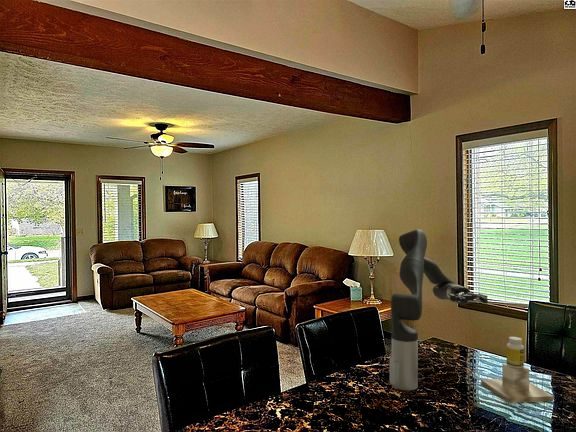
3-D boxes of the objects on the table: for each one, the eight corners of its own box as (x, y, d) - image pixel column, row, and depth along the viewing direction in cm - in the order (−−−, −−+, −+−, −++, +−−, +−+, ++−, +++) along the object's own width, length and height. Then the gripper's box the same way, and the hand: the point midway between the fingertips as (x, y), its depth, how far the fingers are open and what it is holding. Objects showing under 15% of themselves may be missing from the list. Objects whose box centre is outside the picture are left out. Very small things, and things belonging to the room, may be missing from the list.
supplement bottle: (522, 369, 143) (522, 341, 143) (505, 366, 146) (505, 338, 147) (525, 365, 148) (525, 337, 148) (508, 362, 151) (508, 335, 151)
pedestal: (508, 402, 138) (508, 375, 138) (481, 383, 154) (481, 359, 154) (553, 400, 140) (553, 373, 140) (521, 381, 156) (521, 357, 156)
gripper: (442, 285, 181) (457, 291, 164) (474, 285, 181) (493, 291, 165) (442, 302, 180) (457, 310, 164) (474, 303, 181) (493, 310, 164)
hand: (475, 300), depth 164 cm, fingers open, 8 cm apart
